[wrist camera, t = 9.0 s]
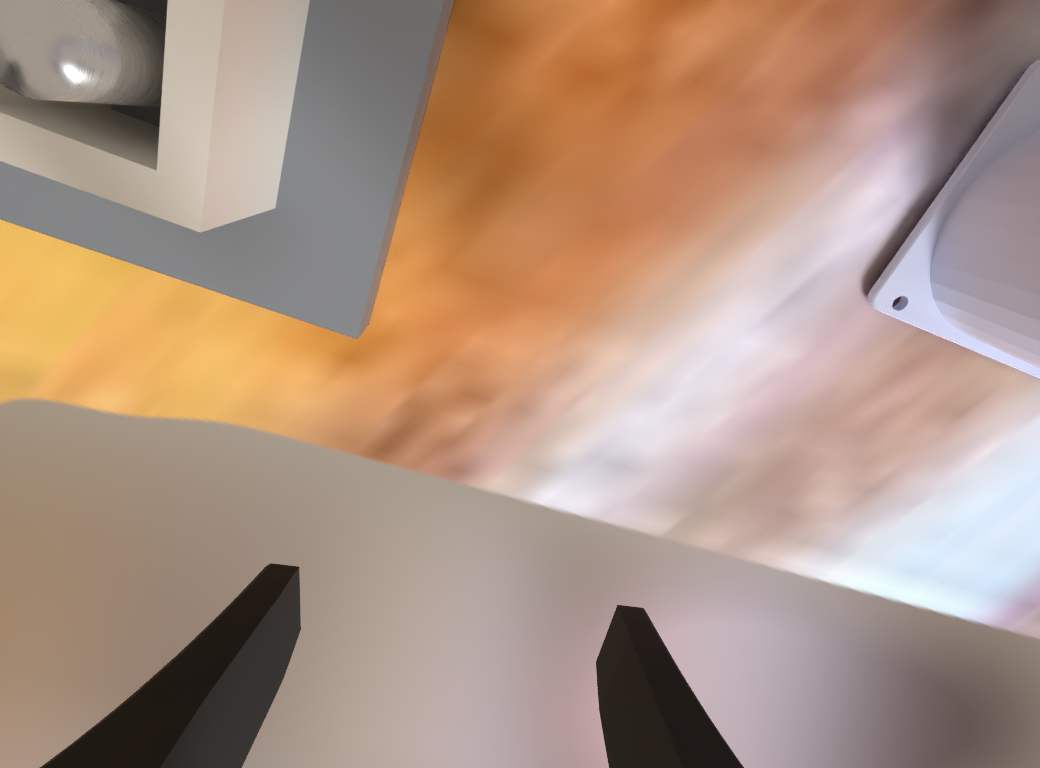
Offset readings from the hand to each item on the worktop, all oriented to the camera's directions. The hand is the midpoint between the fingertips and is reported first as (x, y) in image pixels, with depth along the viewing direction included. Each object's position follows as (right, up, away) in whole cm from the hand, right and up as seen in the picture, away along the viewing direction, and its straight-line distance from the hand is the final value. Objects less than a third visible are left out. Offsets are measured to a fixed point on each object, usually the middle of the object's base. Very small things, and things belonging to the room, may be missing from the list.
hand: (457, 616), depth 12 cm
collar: (-7, +14, +2) cm, 16 cm away
